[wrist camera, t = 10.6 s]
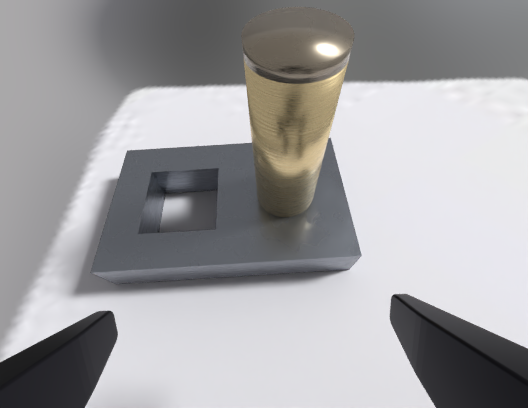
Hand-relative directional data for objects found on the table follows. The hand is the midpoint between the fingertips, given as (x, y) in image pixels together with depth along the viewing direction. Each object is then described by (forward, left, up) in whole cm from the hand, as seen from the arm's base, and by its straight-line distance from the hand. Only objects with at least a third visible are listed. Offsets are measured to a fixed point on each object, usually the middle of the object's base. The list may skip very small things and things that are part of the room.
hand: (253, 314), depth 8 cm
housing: (+9, +6, -13) cm, 17 cm away
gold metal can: (+11, +2, -9) cm, 14 cm away
